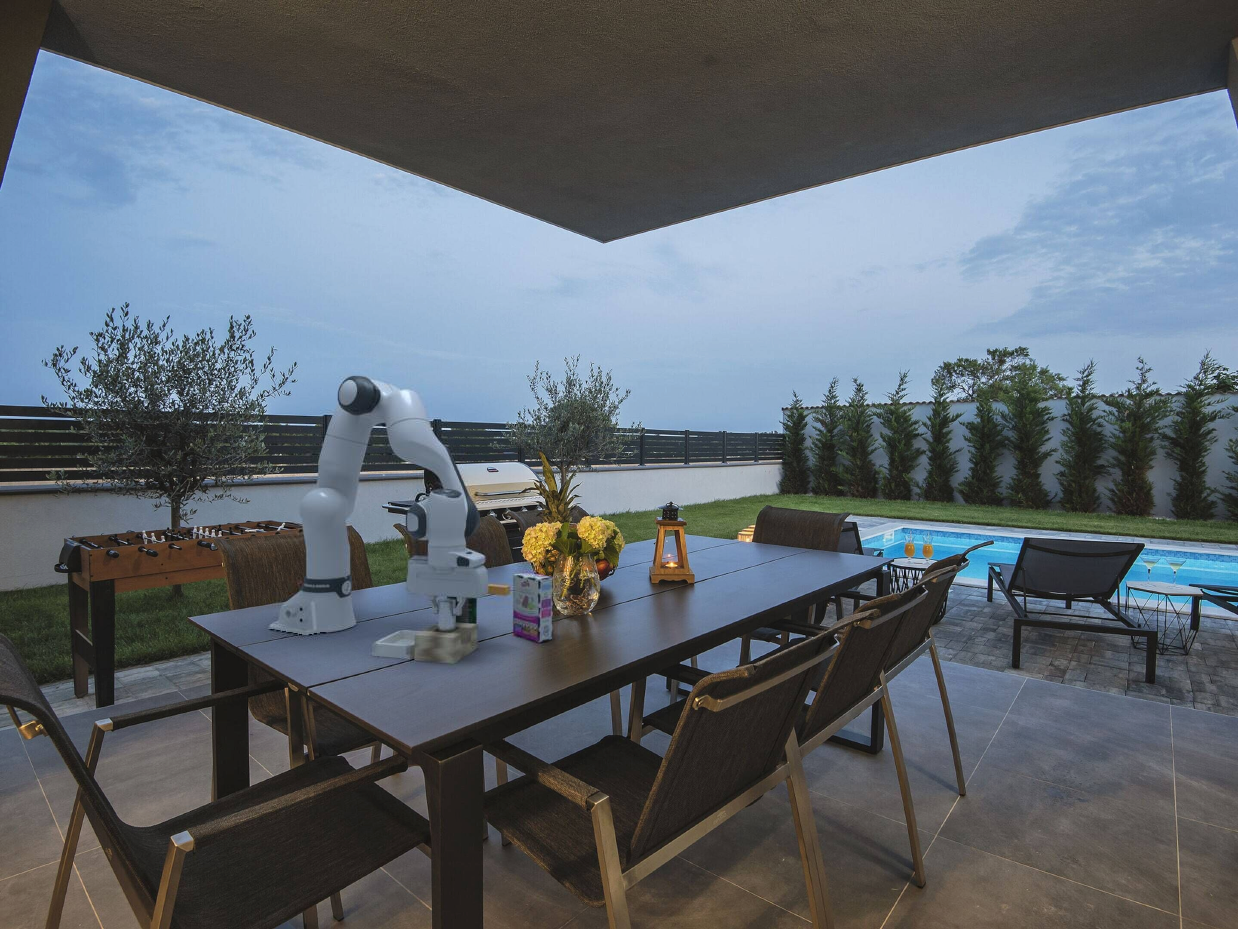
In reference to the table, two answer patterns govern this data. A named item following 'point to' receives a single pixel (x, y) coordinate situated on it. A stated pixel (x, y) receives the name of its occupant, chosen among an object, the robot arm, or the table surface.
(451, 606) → the steel pin
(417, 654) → the block
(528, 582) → the candy bar box
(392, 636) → the tray
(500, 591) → the bar
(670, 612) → the table surface
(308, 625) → the robot arm
